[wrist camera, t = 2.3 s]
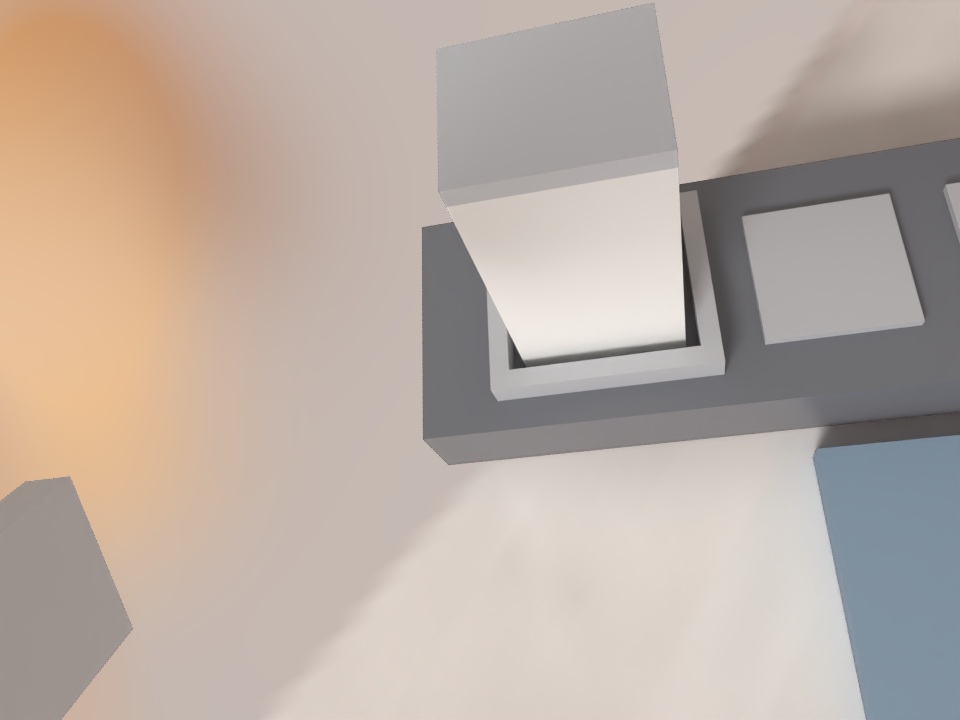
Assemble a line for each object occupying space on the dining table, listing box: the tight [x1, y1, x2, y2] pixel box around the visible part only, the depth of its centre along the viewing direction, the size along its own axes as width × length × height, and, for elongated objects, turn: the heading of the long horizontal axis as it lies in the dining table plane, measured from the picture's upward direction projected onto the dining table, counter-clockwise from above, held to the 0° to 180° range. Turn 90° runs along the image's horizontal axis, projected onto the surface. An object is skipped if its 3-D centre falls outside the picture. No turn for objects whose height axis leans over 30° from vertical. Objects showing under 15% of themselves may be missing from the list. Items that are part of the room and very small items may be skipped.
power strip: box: [422, 138, 960, 465], centre depth 25 cm, size 33×8×4 cm, turn 92°
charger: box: [436, 3, 686, 368], centre depth 22 cm, size 5×4×10 cm
